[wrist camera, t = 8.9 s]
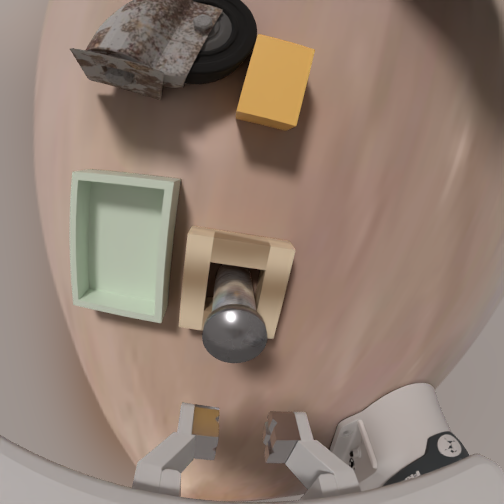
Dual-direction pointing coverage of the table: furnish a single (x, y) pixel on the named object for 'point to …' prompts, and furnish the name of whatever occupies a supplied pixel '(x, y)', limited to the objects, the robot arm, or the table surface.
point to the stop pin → (234, 318)
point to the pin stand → (238, 254)
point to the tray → (122, 242)
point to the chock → (275, 83)
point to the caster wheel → (169, 44)
